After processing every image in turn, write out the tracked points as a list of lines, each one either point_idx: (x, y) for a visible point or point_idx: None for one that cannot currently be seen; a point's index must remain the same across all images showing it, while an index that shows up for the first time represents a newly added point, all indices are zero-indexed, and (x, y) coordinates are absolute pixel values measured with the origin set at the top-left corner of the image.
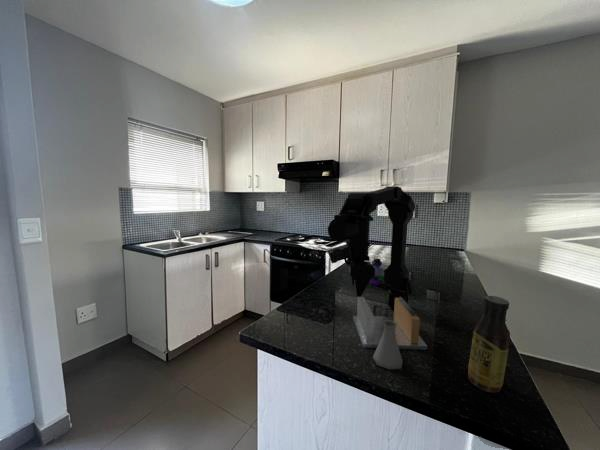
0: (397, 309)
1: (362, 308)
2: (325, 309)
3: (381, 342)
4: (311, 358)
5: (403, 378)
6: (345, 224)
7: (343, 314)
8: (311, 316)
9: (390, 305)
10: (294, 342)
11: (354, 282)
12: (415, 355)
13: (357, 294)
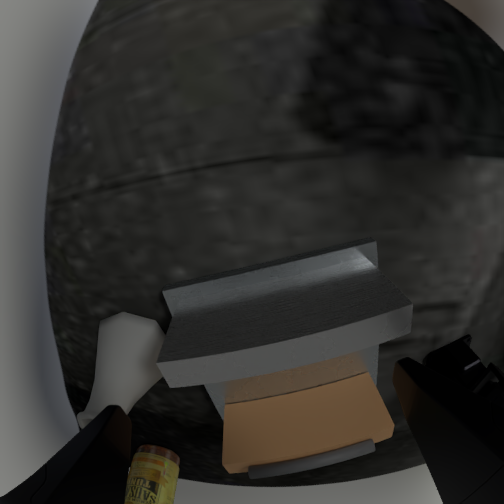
0: (353, 413)
1: (272, 339)
2: (418, 113)
3: (103, 365)
4: (58, 133)
5: (94, 363)
6: None
7: (396, 193)
8: (341, 52)
9: (443, 353)
10: (119, 45)
11: (401, 387)
12: (190, 399)
13: (100, 419)
